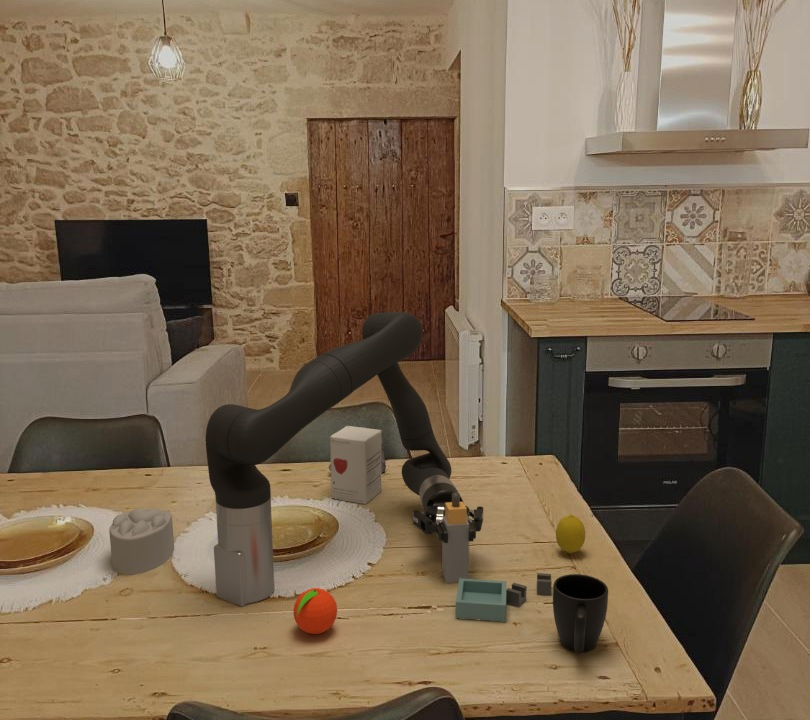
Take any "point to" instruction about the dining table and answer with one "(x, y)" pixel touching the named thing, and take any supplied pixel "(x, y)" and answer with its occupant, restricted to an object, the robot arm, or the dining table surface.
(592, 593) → the mug
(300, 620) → the clementine
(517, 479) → the dining table surface
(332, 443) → the supplement box
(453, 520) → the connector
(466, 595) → the box
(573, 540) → the lemon
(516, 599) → the cable clips
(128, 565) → the lumpy-topped squat cylinder
